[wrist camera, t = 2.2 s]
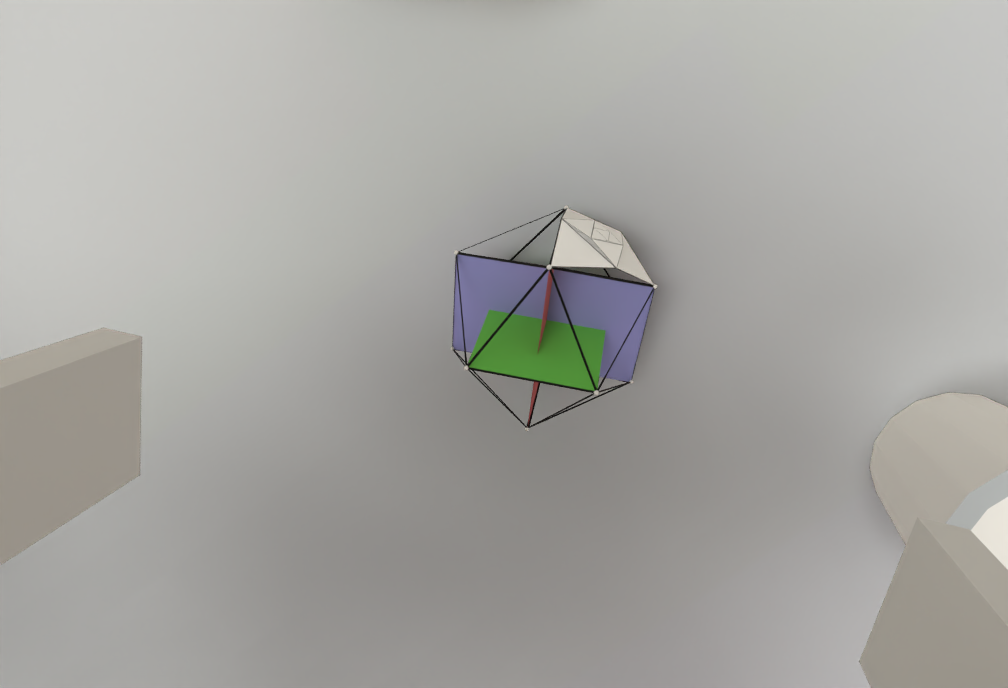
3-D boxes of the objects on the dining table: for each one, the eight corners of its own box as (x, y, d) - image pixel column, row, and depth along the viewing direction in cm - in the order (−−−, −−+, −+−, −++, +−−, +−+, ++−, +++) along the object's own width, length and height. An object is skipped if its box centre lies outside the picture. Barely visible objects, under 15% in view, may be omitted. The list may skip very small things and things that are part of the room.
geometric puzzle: (615, 462, 26) (650, 403, 18) (441, 427, 26) (406, 357, 19) (641, 295, 28) (680, 183, 21) (481, 267, 29) (464, 150, 21)
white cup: (949, 572, 27) (1060, 708, 20) (813, 471, 27) (880, 575, 20) (1093, 450, 25) (1270, 557, 18) (947, 339, 25) (1071, 406, 18)
